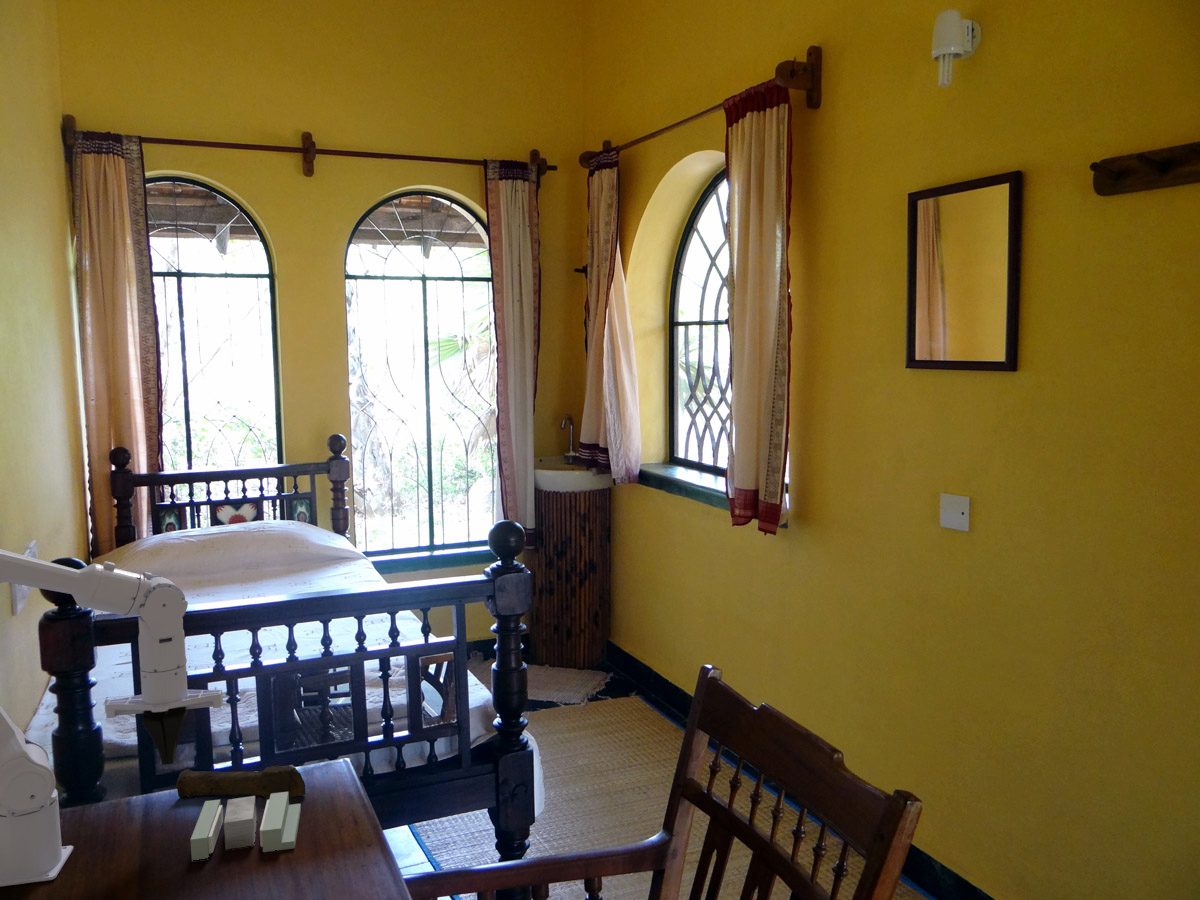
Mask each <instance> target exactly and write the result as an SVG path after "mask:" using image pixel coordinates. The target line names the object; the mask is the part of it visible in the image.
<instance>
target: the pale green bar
mask: <svg viewBox="0 0 1200 900" xmlns="http://www.w3.org/2000/svg"><path fill="white" fill-rule="evenodd" d="M289 799H290V798H289V795H288V792H281V793H272V794H271V795H270V799H266V804H265V808H264V812H263V816H262V820H261V824H260V827H259V842H260V843H259V844H260V847H261V848H262V852H263V853H267V852H276V851H275V850H277V851H285V850H291V849H295V848H296V843H297V838H298V837H297V835H298V829H299V824H300V819H301V818H300V817H301V813H302V812H301V811H302V809H301V808H302V805H301V803H294V804H290V801H289Z"/></svg>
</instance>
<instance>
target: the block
mask: <svg viewBox="0 0 1200 900" xmlns="http://www.w3.org/2000/svg"><path fill="white" fill-rule="evenodd" d="M256 800H257V799H256V795H249V796H243V797H238V798H232V799H231V798H230V799H229V798H228V799H227V804H226V810H225V815H224V819H223V828H224V830H223V831H224V845H225V847H224V848H225V850H226V849H230V848H236V847H237V848H239V847H245V846H251V847H253V846H252V845H254V846H255V844H254V842H255V841H256V834H255V832H256V831H257V823H256V821H258V820H257V819H258V818H257V807H256V806H257V804H256V803H257V802H256ZM245 848H246V847H245ZM239 849H240V848H239Z"/></svg>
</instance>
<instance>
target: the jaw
mask: <svg viewBox="0 0 1200 900" xmlns="http://www.w3.org/2000/svg"><path fill="white" fill-rule="evenodd" d="M223 808H224V807H223V804H221V799H214V800H205V801H204V803H203V806H202V809H201V811H200V814H199V817H198V818H197V821H196V825H195V827H194V829H193V831H192V835H191V837H190V851H191V853H190V854H191V862H194V861H193V860H199V859H205V858H208V857H209V858H210V856H209V854H210V855H211V854H212V853H213V852H214V849H215V847H216V844H217V842H218V838H219V835H220V831H221V828H222V825H223V824H224V810H223Z"/></svg>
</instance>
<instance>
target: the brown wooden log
mask: <svg viewBox="0 0 1200 900" xmlns="http://www.w3.org/2000/svg"><path fill="white" fill-rule="evenodd" d="M176 790H177V797H179V799H181V798H184V797H186V796H187V797H188V798H189V799H191V798H193V797H194V796H261V797H264V799H265V800H269V799H270V795H271V794H272V793H281V792H288V795H289V799H291V798H296V797H297V798H298V797H301V796H304V795H306V784H305V780H304V779H303V776H302V774H301V772H299V770H298V769H297V768H296V767H295V766H291V765H290V766H284V765H271V766H267V767H265V768H264V769H263V770H262V771H219V770H218V771H217V770H214V771H204V770H203V771H202V770H201V771H193V770H191V769H190V768H187V769H185V770H183V771H181V772H180V773H179V775H178V778H177V780H176Z"/></svg>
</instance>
